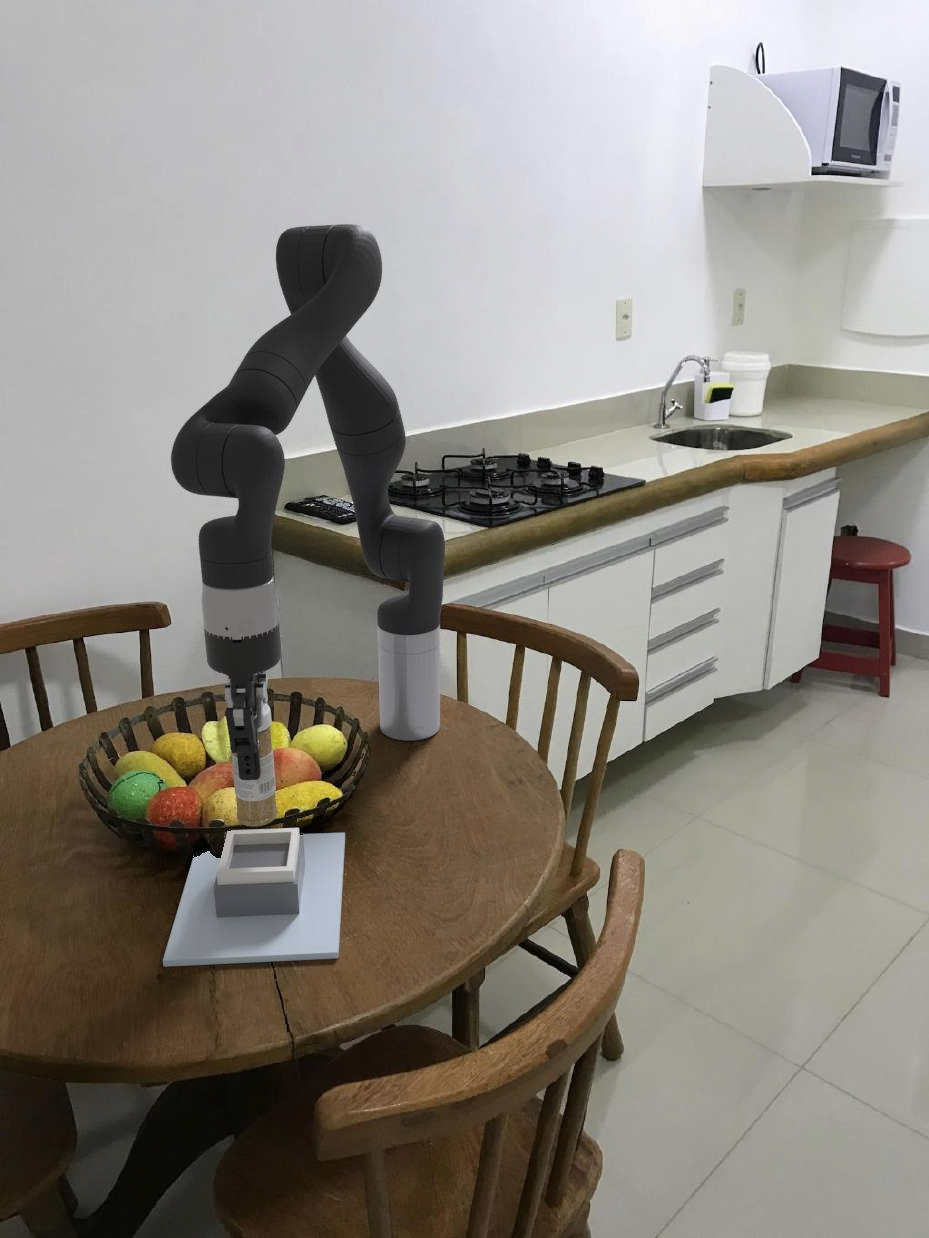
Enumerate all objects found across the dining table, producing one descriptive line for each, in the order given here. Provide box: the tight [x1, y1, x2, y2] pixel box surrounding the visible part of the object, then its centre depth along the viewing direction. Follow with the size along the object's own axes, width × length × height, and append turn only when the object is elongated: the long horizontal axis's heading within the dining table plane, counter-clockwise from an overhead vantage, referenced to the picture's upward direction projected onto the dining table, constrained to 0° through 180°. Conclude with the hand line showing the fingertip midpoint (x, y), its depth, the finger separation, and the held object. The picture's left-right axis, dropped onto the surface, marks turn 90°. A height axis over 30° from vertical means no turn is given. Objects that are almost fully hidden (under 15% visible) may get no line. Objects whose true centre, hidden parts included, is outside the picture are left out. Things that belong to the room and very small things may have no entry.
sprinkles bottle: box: [230, 703, 279, 827], centre depth 106 cm, size 5×5×13 cm
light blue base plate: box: [162, 827, 346, 968], centre depth 111 cm, size 22×18×6 cm
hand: (253, 765), depth 106 cm, fingers closed on sprinkles bottle, 4 cm apart
